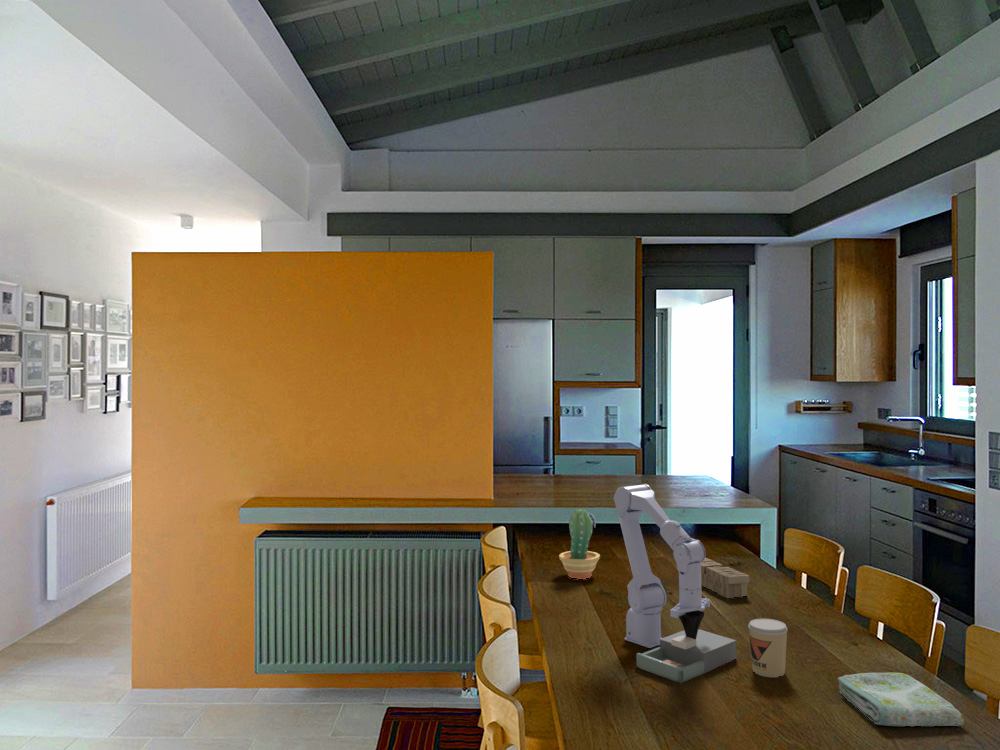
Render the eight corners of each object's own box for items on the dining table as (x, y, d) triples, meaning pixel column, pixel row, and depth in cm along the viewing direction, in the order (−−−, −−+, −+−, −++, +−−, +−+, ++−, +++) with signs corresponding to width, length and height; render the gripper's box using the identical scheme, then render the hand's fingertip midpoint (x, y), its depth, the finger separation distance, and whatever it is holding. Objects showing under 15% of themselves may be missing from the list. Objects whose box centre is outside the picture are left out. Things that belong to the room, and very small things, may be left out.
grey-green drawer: (636, 667, 197) (636, 653, 197) (660, 657, 203) (660, 644, 203) (680, 683, 186) (680, 669, 186) (704, 673, 192) (704, 659, 192)
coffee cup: (741, 667, 195) (740, 621, 195) (770, 662, 198) (769, 616, 198) (766, 681, 186) (765, 632, 186) (796, 675, 190) (795, 627, 190)
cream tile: (671, 644, 198) (671, 639, 198) (682, 640, 201) (682, 635, 201) (685, 649, 195) (685, 643, 195) (696, 645, 198) (696, 639, 198)
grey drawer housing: (660, 657, 203) (659, 639, 203) (692, 645, 212) (692, 627, 212) (704, 673, 192) (703, 653, 192) (736, 659, 201) (736, 640, 201)
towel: (909, 689, 181) (909, 667, 181) (965, 731, 160) (965, 706, 160) (833, 691, 181) (833, 669, 181) (880, 733, 160) (879, 709, 160)
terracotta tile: (667, 659, 197) (667, 665, 197) (655, 663, 194) (655, 669, 194) (681, 664, 193) (681, 670, 193) (669, 669, 190) (669, 675, 190)
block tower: (685, 581, 280) (729, 600, 252) (684, 558, 280) (728, 575, 252) (704, 579, 282) (750, 598, 254) (703, 556, 282) (749, 573, 254)
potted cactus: (602, 581, 277) (601, 513, 277) (560, 582, 278) (559, 513, 278) (598, 570, 293) (597, 505, 293) (558, 571, 293) (556, 506, 293)
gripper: (685, 596, 192) (686, 650, 192) (719, 585, 201) (720, 636, 201) (663, 590, 198) (664, 642, 198) (697, 580, 207) (698, 629, 207)
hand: (691, 639), depth 200 cm, fingers closed
